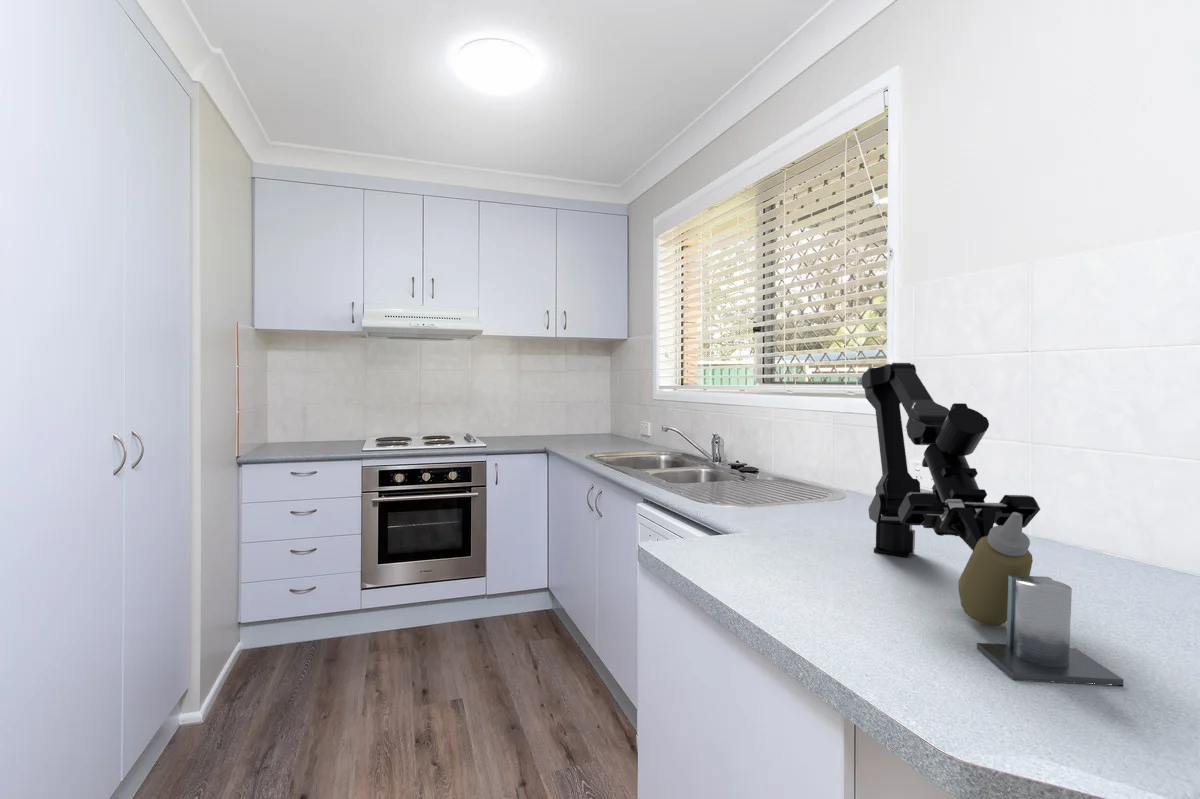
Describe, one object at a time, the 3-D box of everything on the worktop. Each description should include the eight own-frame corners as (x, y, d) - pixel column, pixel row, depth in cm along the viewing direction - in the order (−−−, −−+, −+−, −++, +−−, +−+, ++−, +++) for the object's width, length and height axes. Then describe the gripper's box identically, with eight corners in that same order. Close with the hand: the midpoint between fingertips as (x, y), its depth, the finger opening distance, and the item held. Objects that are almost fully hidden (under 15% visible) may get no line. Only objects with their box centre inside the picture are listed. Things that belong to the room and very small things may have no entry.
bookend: (977, 648, 77) (979, 573, 77) (1075, 654, 76) (1078, 578, 75) (1012, 679, 69) (1015, 596, 69) (1123, 686, 68) (1126, 601, 67)
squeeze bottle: (1007, 596, 89) (1043, 501, 80) (1023, 639, 82) (1063, 540, 74) (947, 586, 91) (976, 492, 83) (958, 626, 84) (989, 529, 76)
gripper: (991, 502, 102) (1028, 587, 91) (878, 499, 104) (902, 581, 93) (1019, 463, 93) (1064, 551, 83) (897, 460, 96) (926, 546, 85)
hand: (985, 559), depth 86 cm, fingers closed, pressing on squeeze bottle
